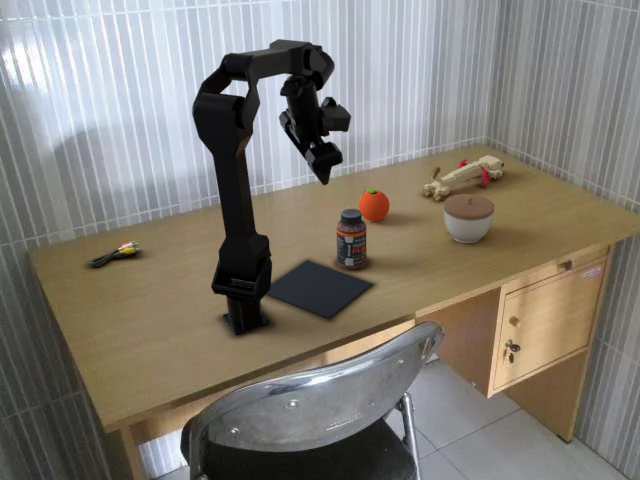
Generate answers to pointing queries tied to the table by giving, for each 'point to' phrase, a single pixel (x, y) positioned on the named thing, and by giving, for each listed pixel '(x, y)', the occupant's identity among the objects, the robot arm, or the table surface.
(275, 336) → the table surface
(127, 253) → the composite cable
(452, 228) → the trinket box
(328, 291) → the mat
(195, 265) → the table surface
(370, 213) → the clementine
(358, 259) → the supplement bottle
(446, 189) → the beige blocky animal figure
